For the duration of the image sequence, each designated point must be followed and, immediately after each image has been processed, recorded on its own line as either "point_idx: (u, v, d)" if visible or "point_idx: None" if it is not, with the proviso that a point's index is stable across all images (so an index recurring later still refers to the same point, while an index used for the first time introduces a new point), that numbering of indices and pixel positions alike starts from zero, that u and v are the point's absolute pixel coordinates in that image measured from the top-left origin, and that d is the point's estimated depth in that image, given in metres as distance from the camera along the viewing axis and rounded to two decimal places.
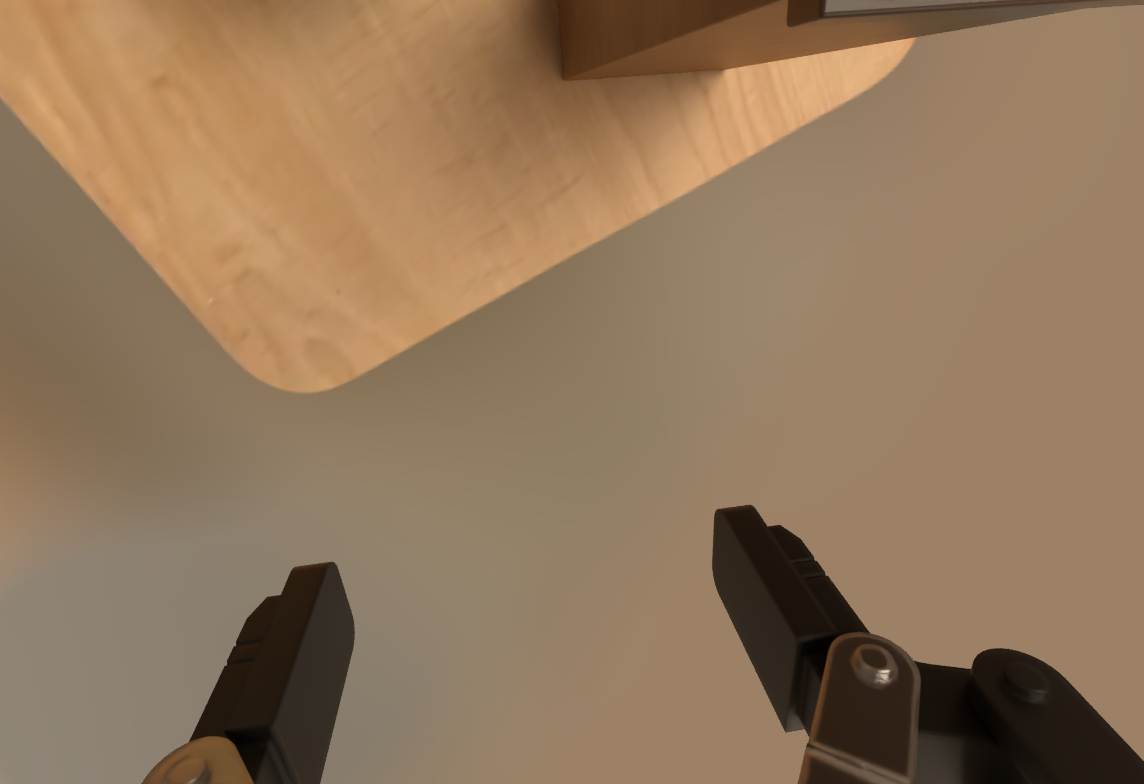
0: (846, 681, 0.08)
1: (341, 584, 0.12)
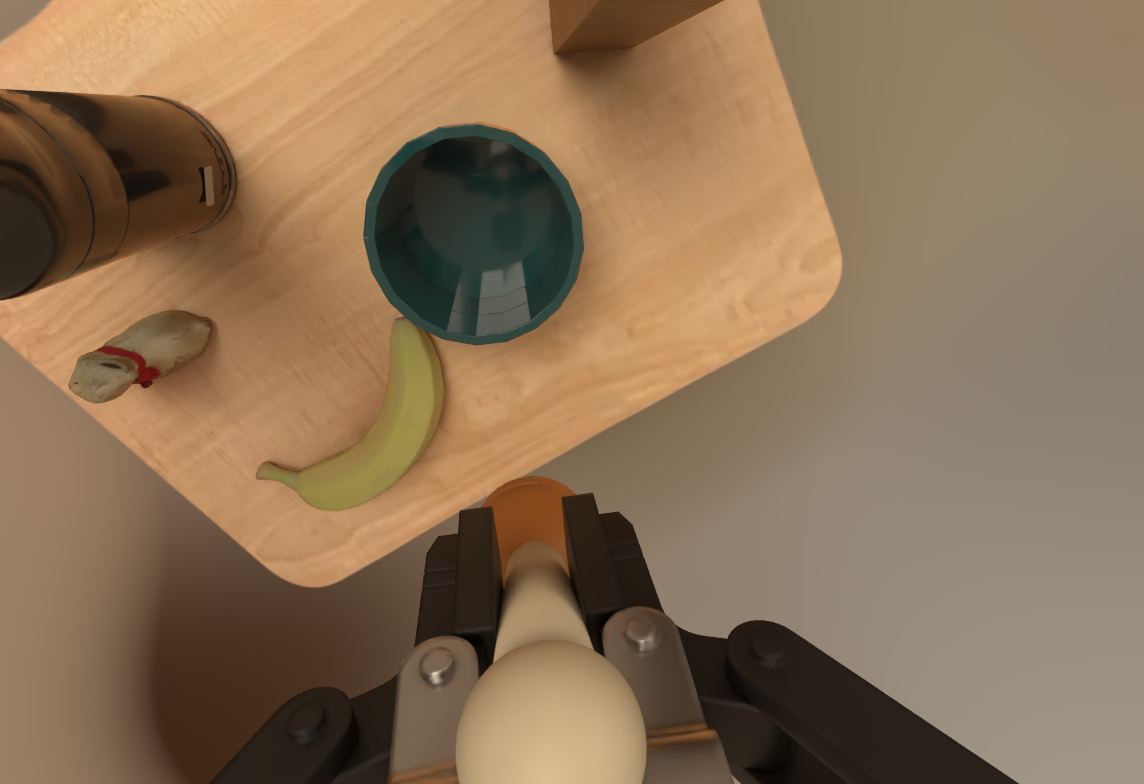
0: (626, 661, 0.09)
1: (495, 528, 0.13)
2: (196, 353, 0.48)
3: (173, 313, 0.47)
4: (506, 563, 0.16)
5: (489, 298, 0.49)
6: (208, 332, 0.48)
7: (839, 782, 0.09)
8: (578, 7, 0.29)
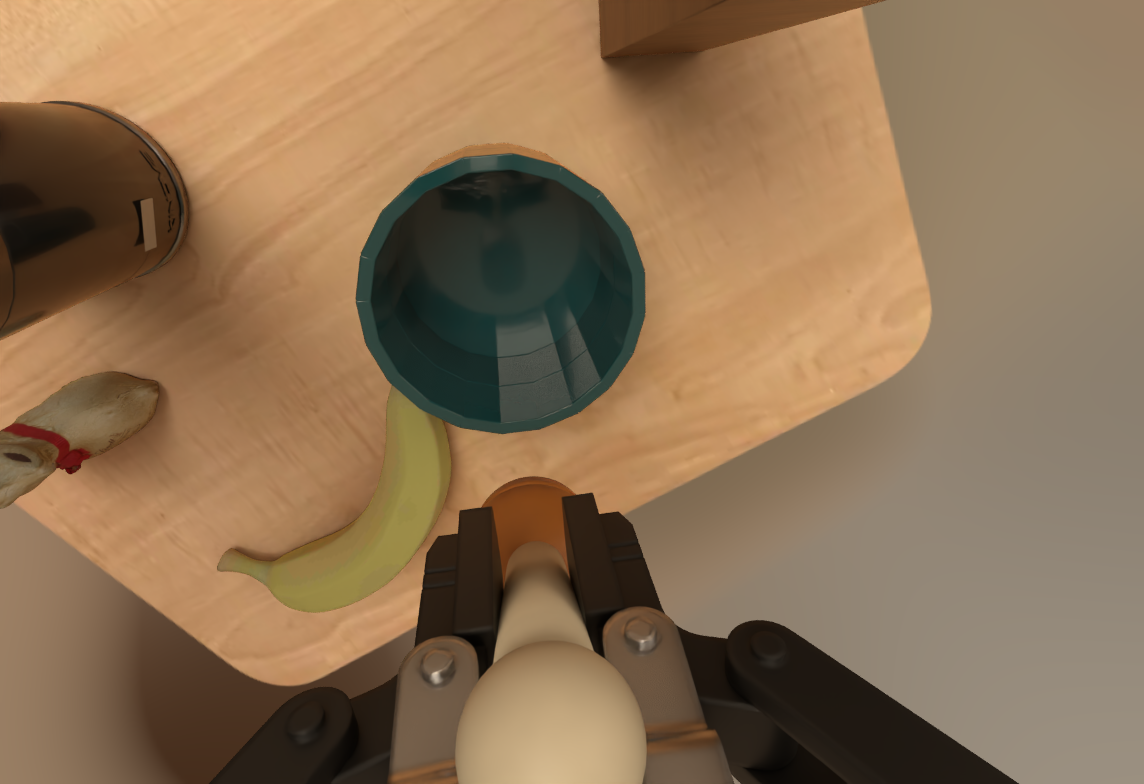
0: (626, 661, 0.09)
1: (495, 528, 0.13)
2: (139, 425, 0.38)
3: (108, 376, 0.37)
4: (506, 563, 0.16)
5: (510, 358, 0.40)
6: (155, 399, 0.38)
7: (839, 782, 0.09)
8: None
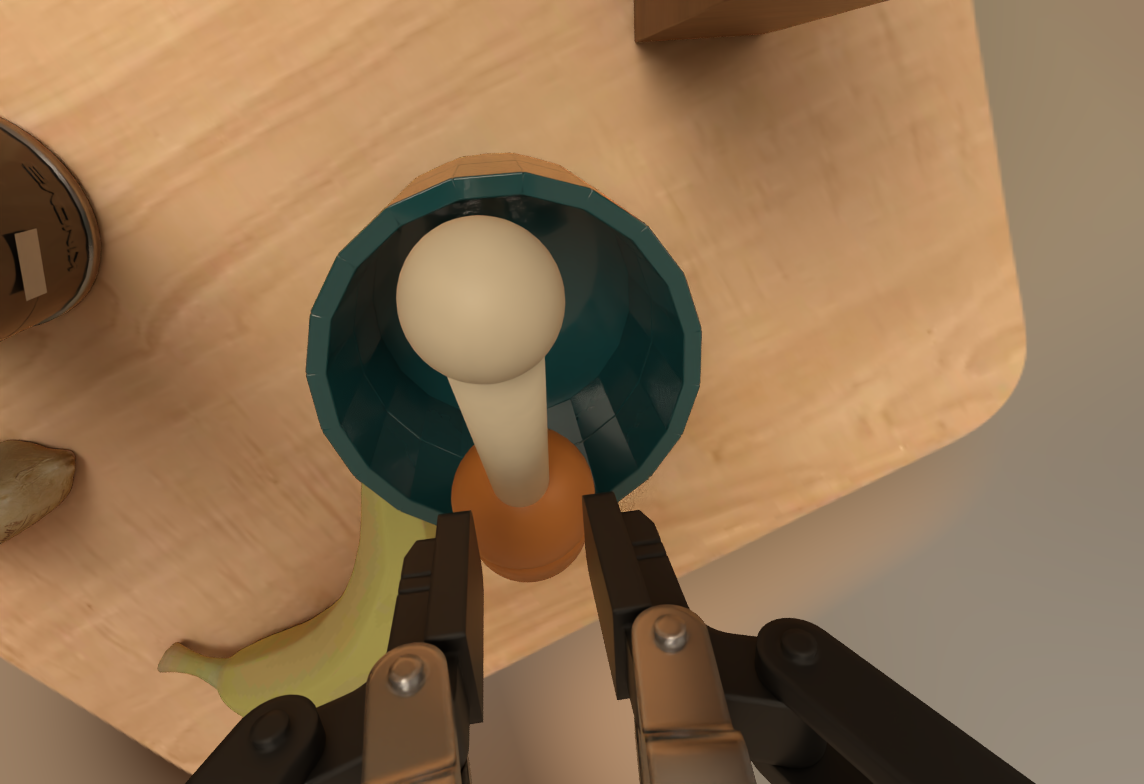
0: (654, 657, 0.09)
1: (475, 532, 0.13)
2: (49, 507, 0.30)
3: (7, 447, 0.29)
4: None
5: None
6: (69, 473, 0.30)
7: None
8: None
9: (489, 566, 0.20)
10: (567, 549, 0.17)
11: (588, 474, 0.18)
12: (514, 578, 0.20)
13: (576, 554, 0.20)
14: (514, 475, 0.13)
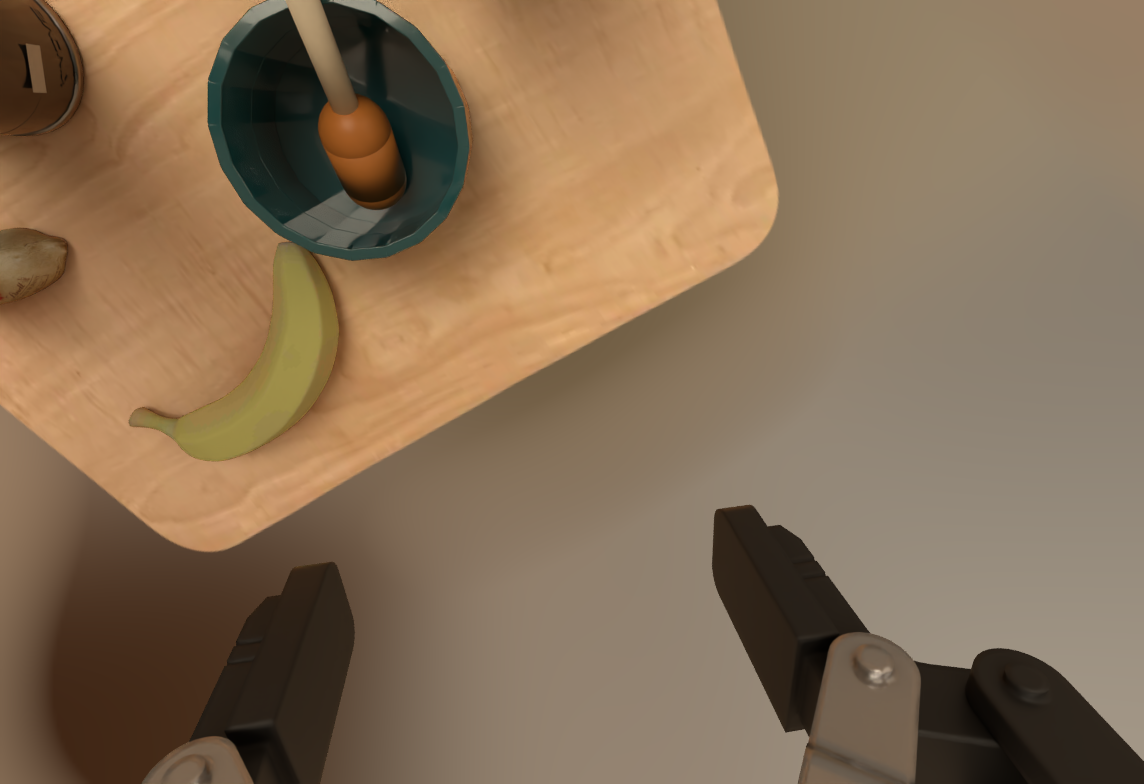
0: (846, 681, 0.08)
1: (341, 584, 0.12)
2: (48, 276, 0.42)
3: (18, 230, 0.42)
4: None
5: (386, 223, 0.44)
6: (62, 254, 0.43)
7: None
8: None
9: (345, 182, 0.39)
10: (372, 147, 0.37)
11: (383, 115, 0.37)
12: (359, 192, 0.40)
13: (392, 181, 0.40)
14: (324, 65, 0.32)
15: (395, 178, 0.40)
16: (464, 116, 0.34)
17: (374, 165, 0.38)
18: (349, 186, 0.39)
